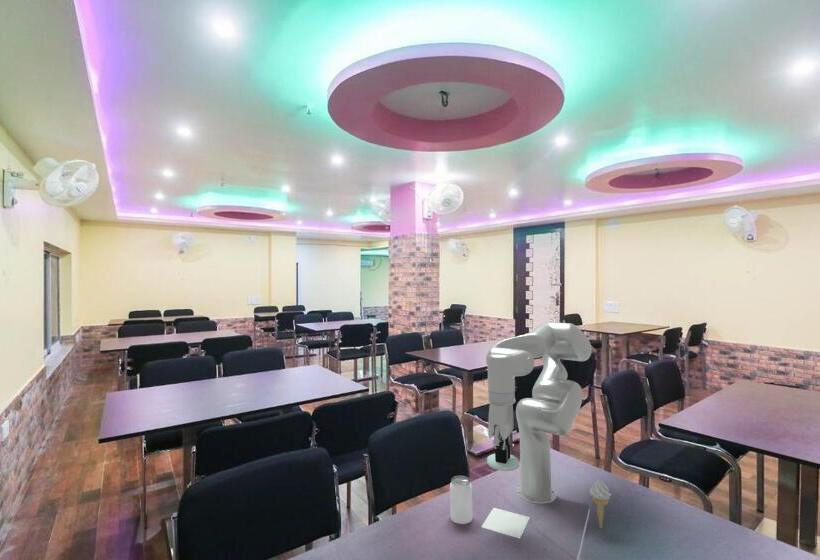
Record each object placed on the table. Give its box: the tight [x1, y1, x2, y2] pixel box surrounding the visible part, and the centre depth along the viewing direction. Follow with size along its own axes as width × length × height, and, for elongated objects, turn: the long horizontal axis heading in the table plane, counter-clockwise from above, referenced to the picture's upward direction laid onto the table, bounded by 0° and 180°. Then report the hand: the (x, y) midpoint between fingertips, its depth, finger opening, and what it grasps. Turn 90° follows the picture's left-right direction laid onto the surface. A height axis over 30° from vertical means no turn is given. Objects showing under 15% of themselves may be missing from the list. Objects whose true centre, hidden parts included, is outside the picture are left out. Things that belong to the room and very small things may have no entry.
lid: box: [486, 445, 520, 472], centre depth 117 cm, size 9×9×5 cm
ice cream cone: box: [589, 475, 612, 530], centre depth 114 cm, size 6×6×15 cm
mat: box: [480, 507, 530, 540], centre depth 117 cm, size 11×11×1 cm
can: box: [449, 475, 474, 525], centre depth 120 cm, size 6×6×12 cm
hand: (502, 459), depth 117 cm, fingers closed on lid, 2 cm apart
